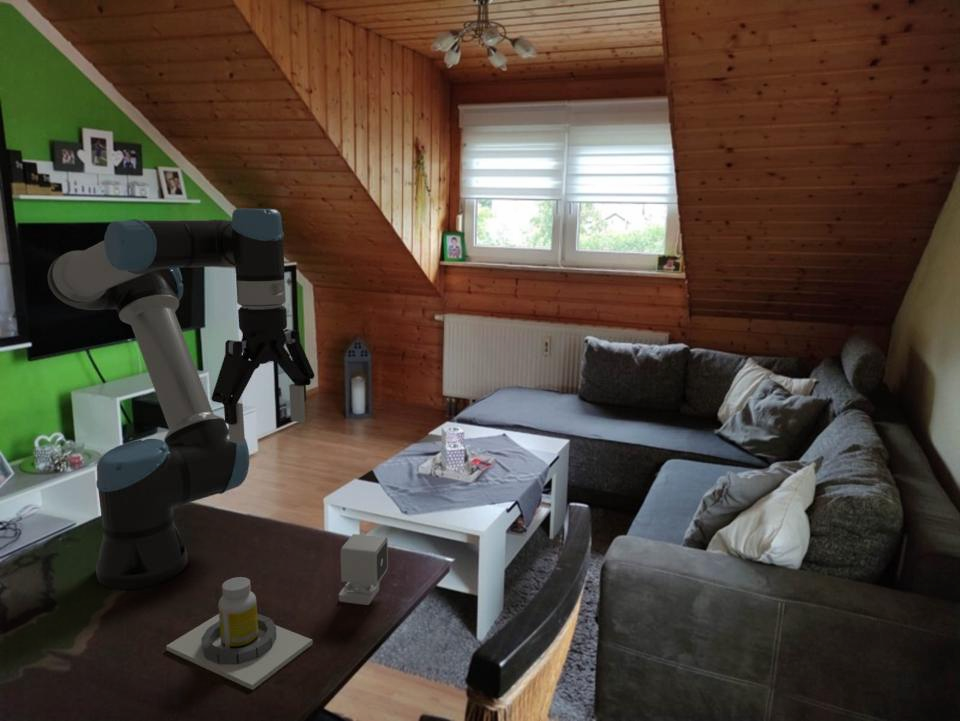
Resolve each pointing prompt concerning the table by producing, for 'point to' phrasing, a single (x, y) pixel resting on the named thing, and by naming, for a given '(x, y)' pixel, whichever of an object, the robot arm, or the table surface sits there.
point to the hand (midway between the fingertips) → (269, 431)
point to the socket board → (245, 669)
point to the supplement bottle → (238, 614)
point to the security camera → (363, 567)
